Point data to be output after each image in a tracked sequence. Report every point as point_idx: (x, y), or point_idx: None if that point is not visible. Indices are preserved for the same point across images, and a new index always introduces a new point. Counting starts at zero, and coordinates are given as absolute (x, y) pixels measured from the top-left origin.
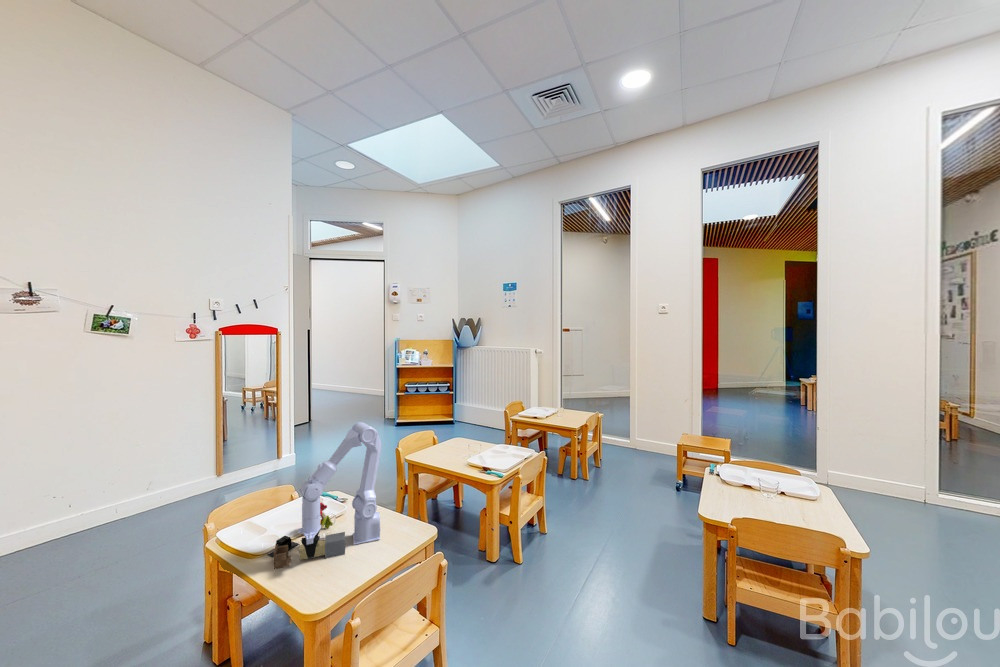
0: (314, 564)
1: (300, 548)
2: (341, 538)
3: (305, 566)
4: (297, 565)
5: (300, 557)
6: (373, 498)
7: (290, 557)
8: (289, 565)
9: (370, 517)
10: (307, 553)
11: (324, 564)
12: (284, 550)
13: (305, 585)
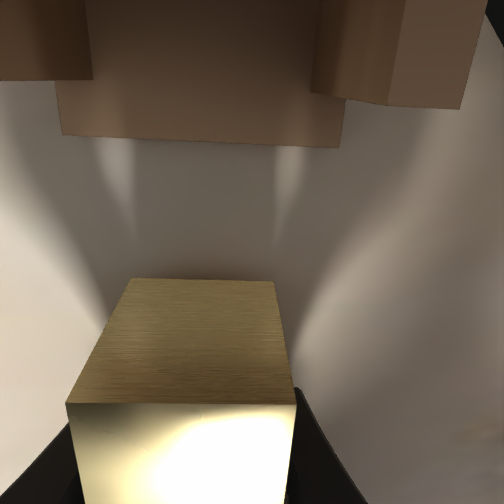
0: (39, 406)
1: (119, 413)
2: None
3: (18, 328)
4: (65, 239)
5: (124, 305)
6: None
7: (272, 138)
8: (68, 132)
9: None
10: (62, 444)
11: (16, 479)
12: (361, 2)
13: None
